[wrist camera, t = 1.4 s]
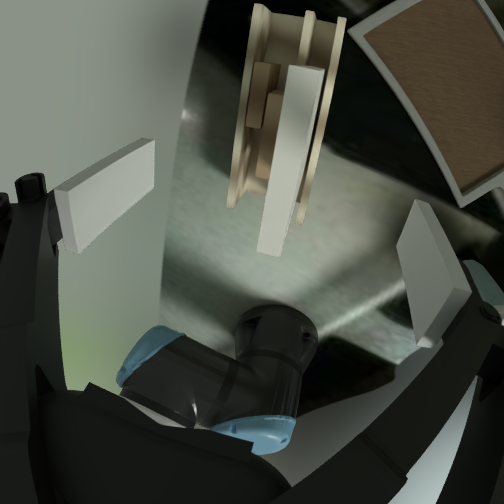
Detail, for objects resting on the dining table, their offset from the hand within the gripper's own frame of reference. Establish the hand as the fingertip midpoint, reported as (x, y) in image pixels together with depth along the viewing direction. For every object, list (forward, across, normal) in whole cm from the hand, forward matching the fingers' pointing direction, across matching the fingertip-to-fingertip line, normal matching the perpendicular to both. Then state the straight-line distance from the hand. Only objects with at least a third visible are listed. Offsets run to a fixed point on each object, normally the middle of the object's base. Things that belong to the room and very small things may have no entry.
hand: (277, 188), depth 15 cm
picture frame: (+28, -20, -8) cm, 35 cm away
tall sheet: (+26, 0, 0) cm, 26 cm away
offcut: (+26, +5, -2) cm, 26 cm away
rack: (+26, +3, 0) cm, 27 cm away
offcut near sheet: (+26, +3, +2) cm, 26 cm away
